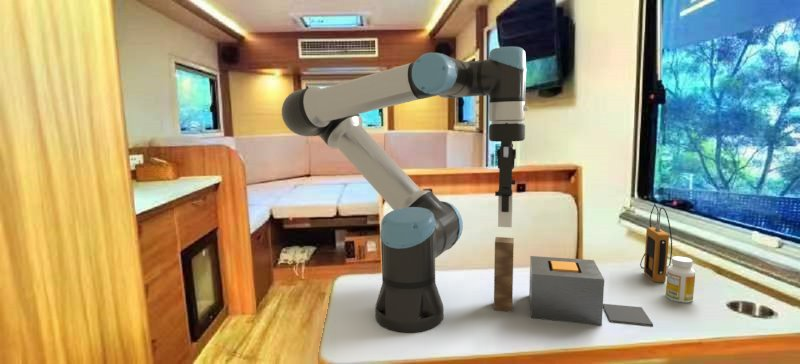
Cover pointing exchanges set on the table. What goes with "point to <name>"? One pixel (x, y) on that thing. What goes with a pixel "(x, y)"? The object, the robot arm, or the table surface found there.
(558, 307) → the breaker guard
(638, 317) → the rest mat
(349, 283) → the table surface
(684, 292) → the supplement bottle
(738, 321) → the table surface
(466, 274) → the table surface
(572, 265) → the button
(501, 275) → the brown rectangular block
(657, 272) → the multimeter
